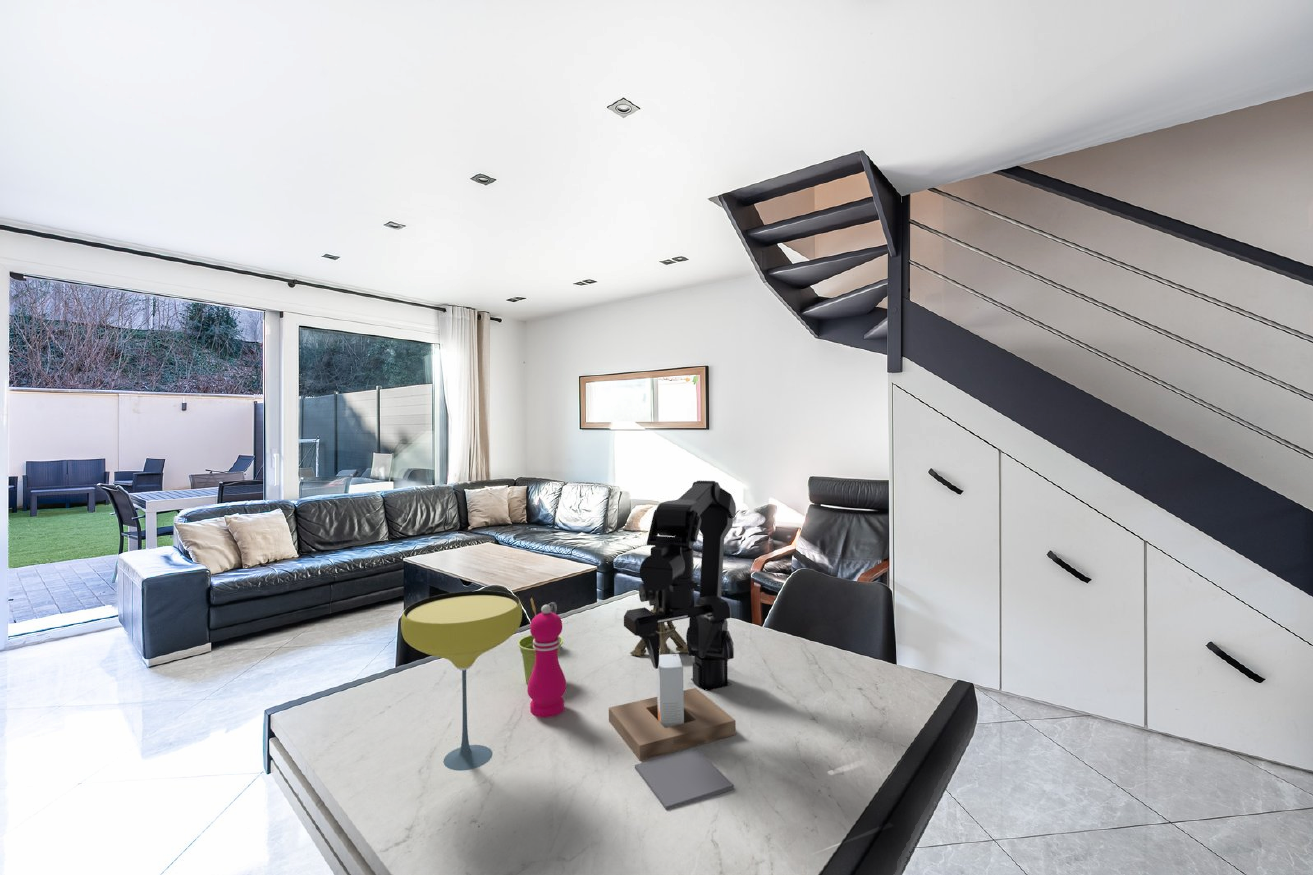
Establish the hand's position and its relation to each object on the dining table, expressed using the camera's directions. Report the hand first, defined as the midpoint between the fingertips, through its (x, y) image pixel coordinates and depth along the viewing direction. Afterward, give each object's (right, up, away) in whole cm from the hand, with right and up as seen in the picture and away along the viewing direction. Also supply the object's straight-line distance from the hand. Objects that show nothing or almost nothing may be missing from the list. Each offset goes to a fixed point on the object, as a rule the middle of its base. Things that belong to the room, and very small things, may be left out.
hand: (679, 662), depth 100 cm
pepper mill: (-25, -12, +7) cm, 28 cm away
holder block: (-2, -12, 0) cm, 12 cm away
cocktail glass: (-34, -12, -10) cm, 38 cm away
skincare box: (-2, -12, 0) cm, 12 cm away
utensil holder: (-32, -12, +39) cm, 52 cm away
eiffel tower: (-3, -12, +36) cm, 38 cm away
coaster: (0, -12, -15) cm, 19 cm away
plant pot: (-28, -12, +20) cm, 36 cm away
